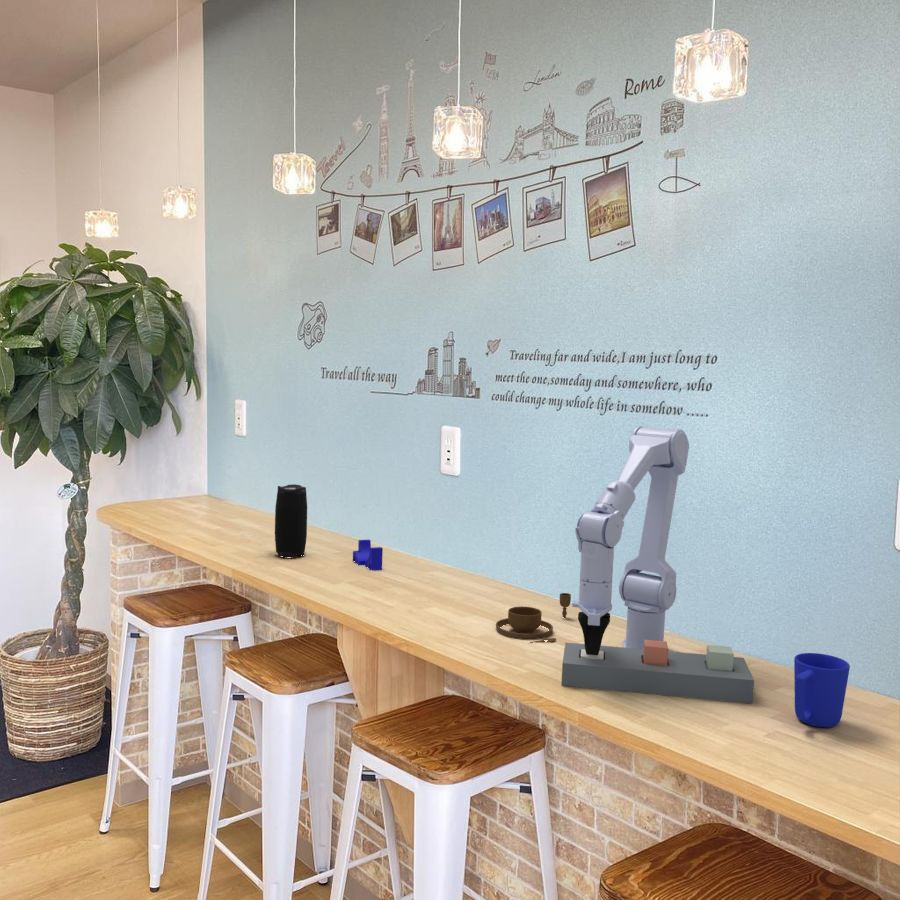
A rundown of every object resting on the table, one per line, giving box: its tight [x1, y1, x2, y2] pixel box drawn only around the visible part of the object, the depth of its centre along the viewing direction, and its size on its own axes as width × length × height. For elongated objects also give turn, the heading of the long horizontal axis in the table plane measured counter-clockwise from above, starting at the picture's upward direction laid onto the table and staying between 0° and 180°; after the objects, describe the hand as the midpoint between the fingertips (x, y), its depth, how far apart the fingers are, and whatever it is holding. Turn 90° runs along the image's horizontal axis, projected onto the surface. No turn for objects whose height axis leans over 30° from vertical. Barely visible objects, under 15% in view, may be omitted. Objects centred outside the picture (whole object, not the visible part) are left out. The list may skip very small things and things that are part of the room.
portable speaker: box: [274, 483, 308, 558], centre depth 251 cm, size 9×9×20 cm
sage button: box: [706, 644, 735, 671], centre depth 159 cm, size 4×4×4 cm
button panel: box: [561, 642, 755, 704], centre depth 161 cm, size 12×32×4 cm, turn 80°
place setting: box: [495, 592, 572, 644], centre depth 190 cm, size 18×20×6 cm
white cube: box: [581, 649, 604, 660], centre depth 162 cm, size 4×4×4 cm
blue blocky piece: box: [352, 538, 384, 571], centre depth 244 cm, size 12×4×6 cm, turn 23°
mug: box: [793, 652, 851, 728], centre depth 144 cm, size 8×12×10 cm
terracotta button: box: [643, 640, 669, 666], centre depth 160 cm, size 4×4×4 cm
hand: (592, 653), depth 162 cm, fingers closed, pressing on white cube
